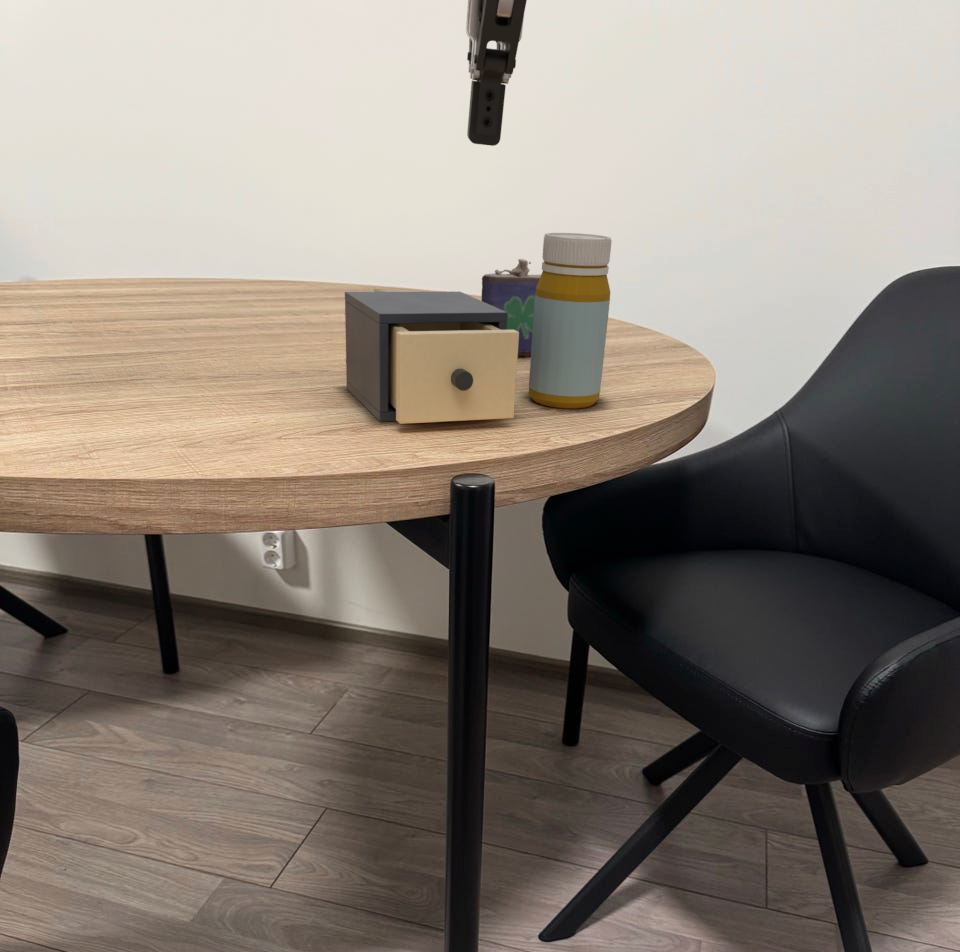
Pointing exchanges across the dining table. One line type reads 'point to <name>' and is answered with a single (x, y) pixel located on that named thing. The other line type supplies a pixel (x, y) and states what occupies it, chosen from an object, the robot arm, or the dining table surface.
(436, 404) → the drawer
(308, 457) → the dining table surface
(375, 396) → the cabinet
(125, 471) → the dining table surface
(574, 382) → the bottle
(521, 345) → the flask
